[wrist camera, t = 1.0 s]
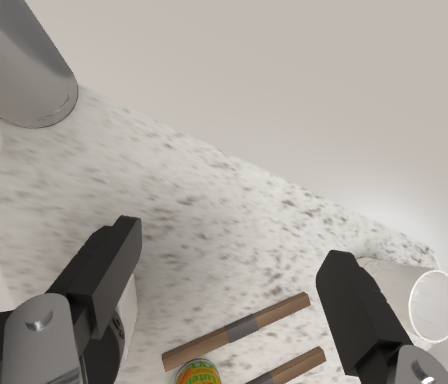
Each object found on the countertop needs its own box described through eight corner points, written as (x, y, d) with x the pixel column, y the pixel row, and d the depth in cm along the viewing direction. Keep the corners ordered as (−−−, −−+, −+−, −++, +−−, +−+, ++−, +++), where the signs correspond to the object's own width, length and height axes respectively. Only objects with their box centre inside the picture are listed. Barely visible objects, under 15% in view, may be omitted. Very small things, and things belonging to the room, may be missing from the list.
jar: (152, 277, 29) (145, 325, 17) (123, 345, 27) (93, 448, 16) (77, 251, 27) (11, 285, 15) (41, 323, 26) (-60, 420, 14)
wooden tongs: (161, 354, 28) (162, 359, 27) (303, 291, 33) (308, 294, 32) (184, 430, 28) (184, 439, 27) (321, 356, 34) (326, 361, 32)
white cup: (392, 275, 37) (472, 299, 28) (365, 317, 36) (440, 358, 26) (361, 242, 36) (433, 255, 27) (332, 283, 35) (397, 312, 25)
